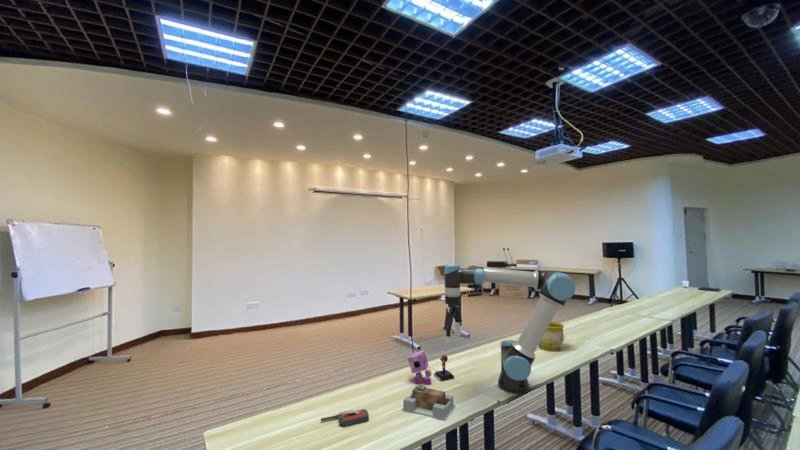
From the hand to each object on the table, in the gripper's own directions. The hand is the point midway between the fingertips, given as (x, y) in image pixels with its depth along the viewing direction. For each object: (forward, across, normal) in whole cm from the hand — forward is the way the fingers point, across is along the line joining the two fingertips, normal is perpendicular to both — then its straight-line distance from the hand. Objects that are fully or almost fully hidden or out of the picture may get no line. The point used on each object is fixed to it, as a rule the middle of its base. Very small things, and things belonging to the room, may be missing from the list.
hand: (453, 339), depth 169 cm
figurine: (+27, -16, -11) cm, 33 cm away
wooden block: (+26, +18, -6) cm, 32 cm away
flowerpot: (+27, -93, +38) cm, 104 cm away
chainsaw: (+27, +43, -34) cm, 61 cm away
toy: (+27, -7, -21) cm, 35 cm away
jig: (+26, +18, -6) cm, 33 cm away
